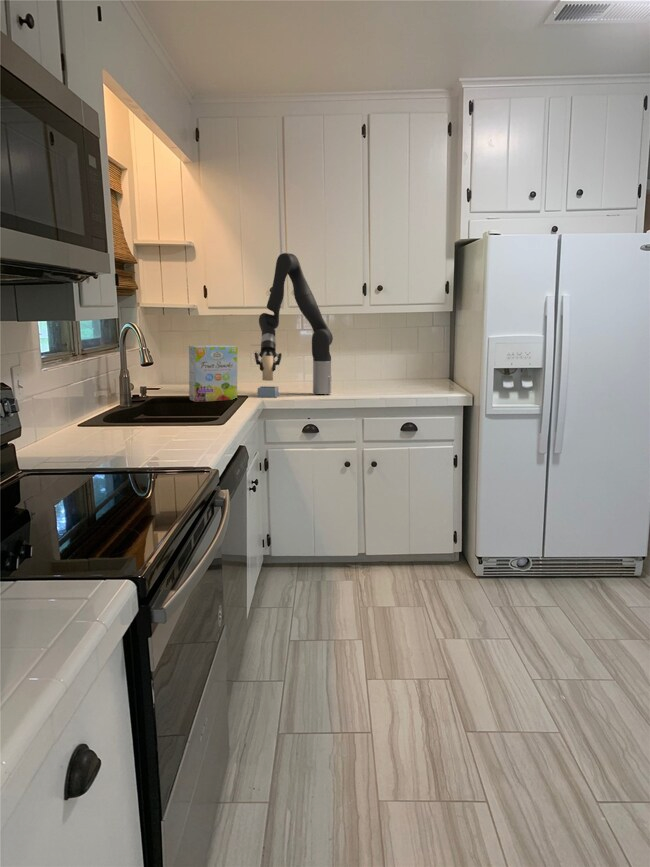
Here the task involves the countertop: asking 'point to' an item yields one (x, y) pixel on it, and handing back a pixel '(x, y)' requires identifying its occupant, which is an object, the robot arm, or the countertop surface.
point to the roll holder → (268, 392)
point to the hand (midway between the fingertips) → (267, 370)
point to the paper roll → (267, 368)
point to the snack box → (212, 373)
